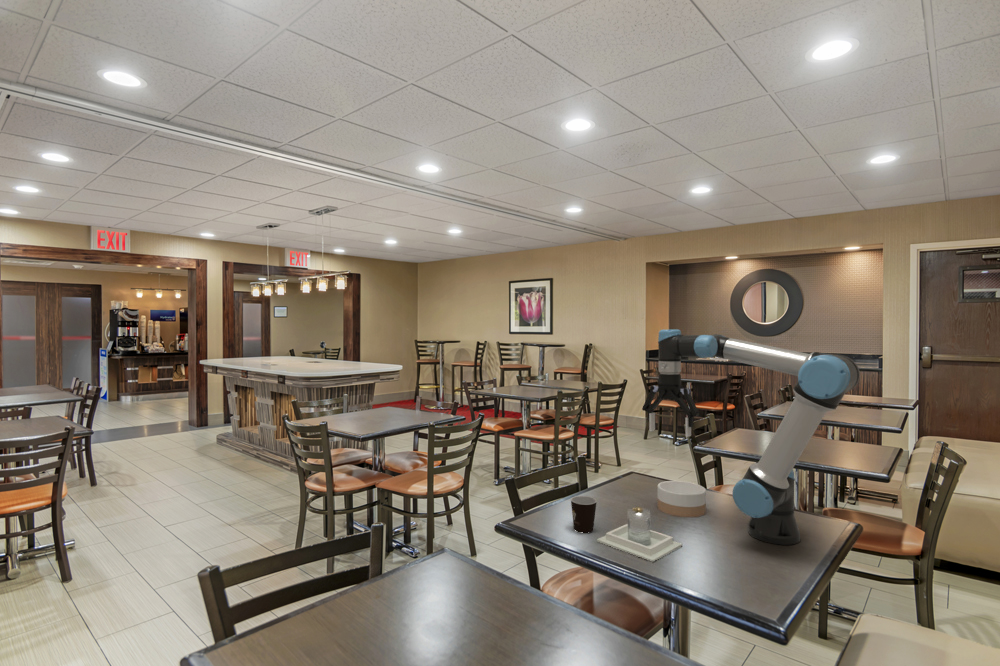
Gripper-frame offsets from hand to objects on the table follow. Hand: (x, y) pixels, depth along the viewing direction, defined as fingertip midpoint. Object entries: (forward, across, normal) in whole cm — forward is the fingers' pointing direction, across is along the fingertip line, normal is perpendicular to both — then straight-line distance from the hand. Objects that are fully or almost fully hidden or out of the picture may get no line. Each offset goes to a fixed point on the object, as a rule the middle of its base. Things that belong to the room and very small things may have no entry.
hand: (669, 433), depth 182 cm
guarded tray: (+31, +2, -25) cm, 40 cm away
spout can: (+30, +2, -25) cm, 39 cm away
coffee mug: (+31, -18, -26) cm, 44 cm away
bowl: (+31, -3, +15) cm, 35 cm away
